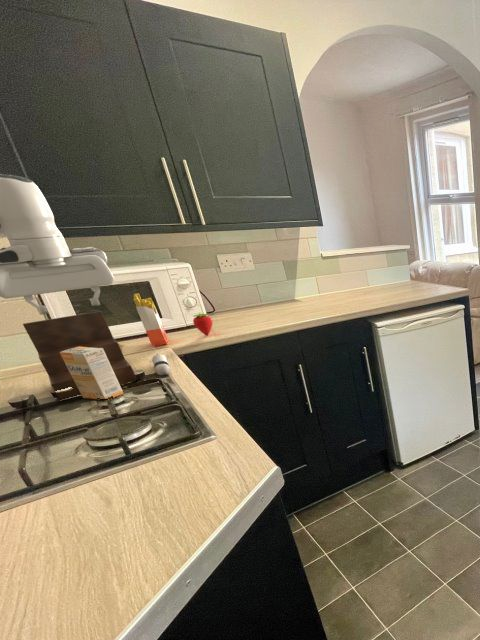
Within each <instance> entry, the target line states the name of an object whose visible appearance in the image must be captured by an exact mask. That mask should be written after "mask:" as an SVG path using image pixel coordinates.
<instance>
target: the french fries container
mask: <svg viewBox="0 0 480 640" xmlns="http://www.w3.org/2000/svg"><path fill="white" fill-rule="evenodd" d="M133 302H134V304H135V308H136V311H137V313H138V316H139V318H140V321H141V323H142V326H143V328H144V330H145V332H146V335H147V337H148V341H149V342H150V344H151V345H152V346H153V345H154V346H155V347H159V346H164V345H163V344H165V345H168V344H167V342H168V343H169V340H168V336H167V332H166V330H165V327H164V324H163V322H162V319H161V317H160V314H159V313H158V310H157V308H156V305H155V303H154V301H153V299H152V297H147V298H143V299H142V298H141V295H140V293H134V294H133Z"/></svg>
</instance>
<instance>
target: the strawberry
mask: <svg viewBox="0 0 480 640" xmlns="http://www.w3.org/2000/svg"><path fill="white" fill-rule="evenodd" d="M192 317H193V320H192V323H193V325H194V326H195V328H196V329H197V330H198V331H200V332H201V333H202V334H204V336H209V335H210V332H211V330H212V327H213V319H212V317H211V316H210V315H209V313H197V314H194V315H192ZM208 334H209V335H208Z"/></svg>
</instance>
